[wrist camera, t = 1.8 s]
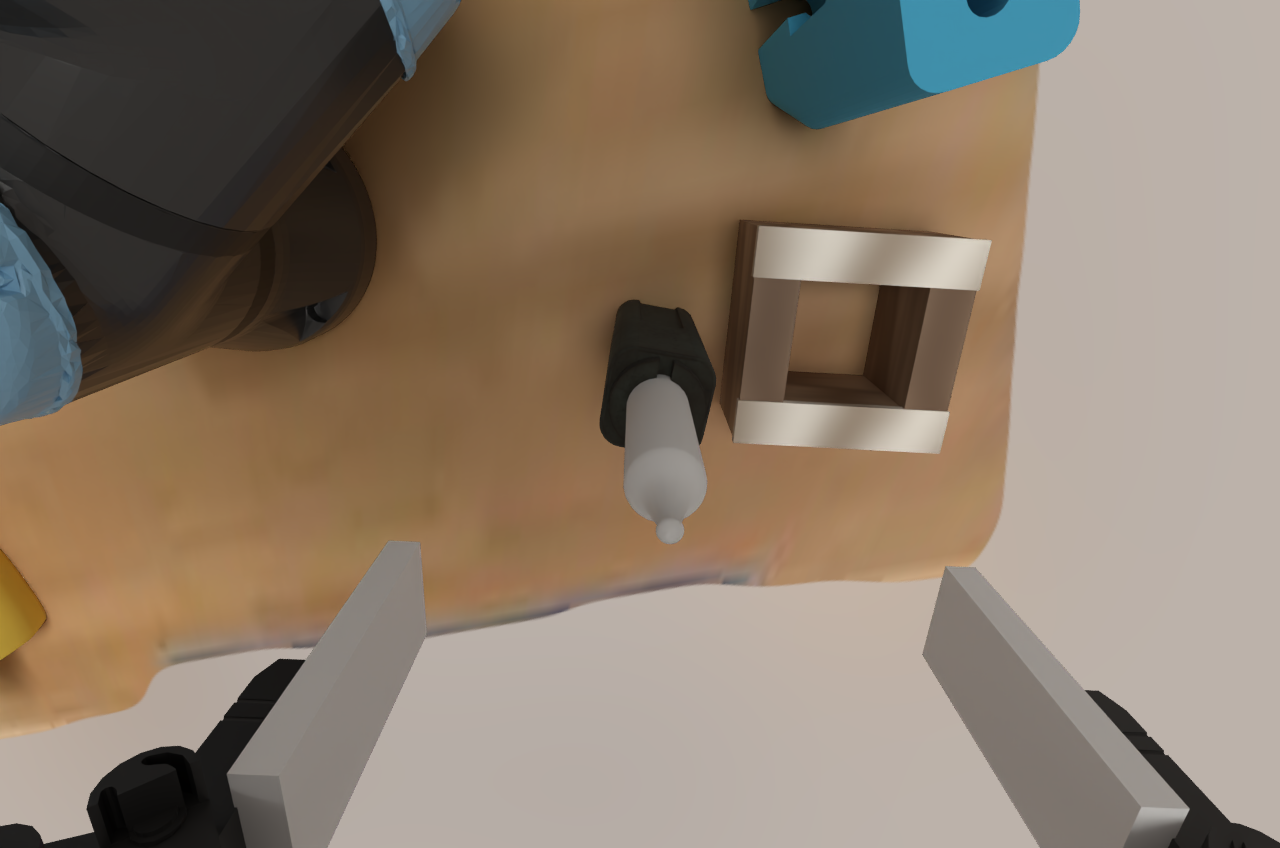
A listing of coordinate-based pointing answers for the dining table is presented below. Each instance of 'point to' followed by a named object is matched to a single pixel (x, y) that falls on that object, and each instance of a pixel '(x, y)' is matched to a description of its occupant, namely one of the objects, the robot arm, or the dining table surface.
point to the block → (902, 51)
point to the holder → (899, 345)
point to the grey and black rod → (659, 412)
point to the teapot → (16, 609)
